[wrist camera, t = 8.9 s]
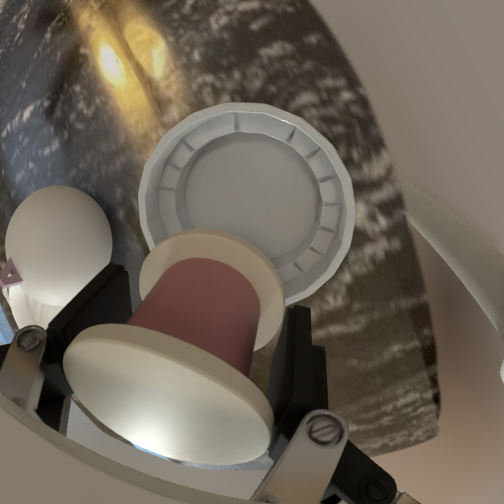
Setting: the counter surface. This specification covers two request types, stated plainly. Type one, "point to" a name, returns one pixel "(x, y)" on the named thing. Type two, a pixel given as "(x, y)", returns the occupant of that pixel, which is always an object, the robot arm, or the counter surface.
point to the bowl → (253, 189)
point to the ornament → (56, 244)
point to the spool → (187, 352)
